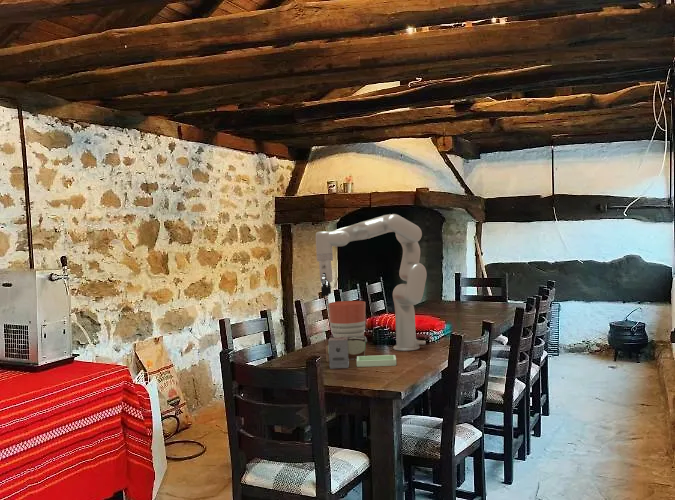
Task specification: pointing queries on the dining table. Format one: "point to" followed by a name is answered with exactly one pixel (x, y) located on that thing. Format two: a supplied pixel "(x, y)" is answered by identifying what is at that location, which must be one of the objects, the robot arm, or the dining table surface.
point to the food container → (356, 346)
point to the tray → (376, 360)
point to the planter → (347, 318)
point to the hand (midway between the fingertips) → (326, 294)
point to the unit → (338, 352)
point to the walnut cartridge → (327, 354)
